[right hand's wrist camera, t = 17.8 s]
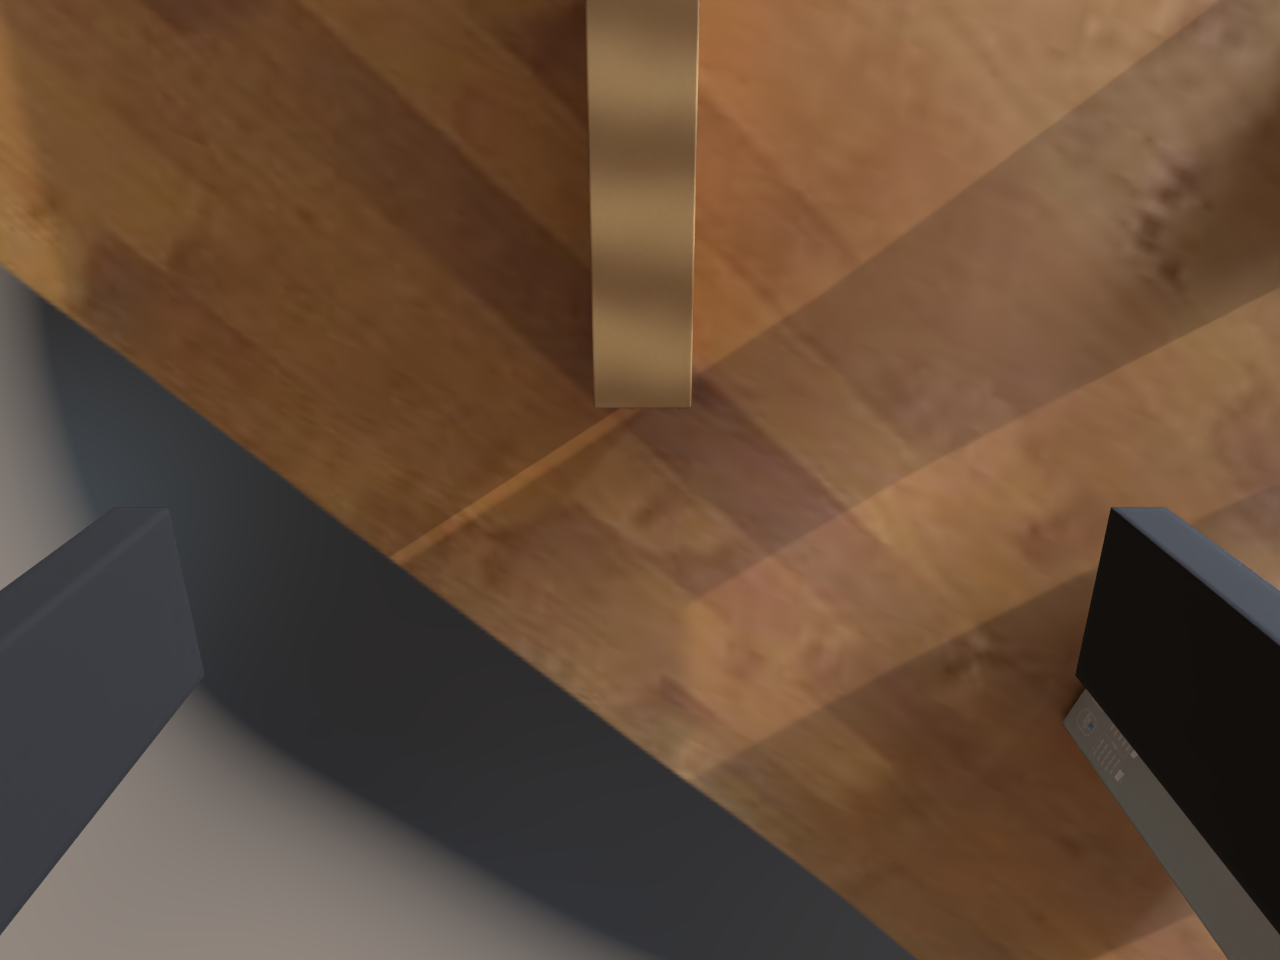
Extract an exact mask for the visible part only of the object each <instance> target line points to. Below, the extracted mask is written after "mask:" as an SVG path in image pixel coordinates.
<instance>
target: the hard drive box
mask: <svg viewBox="0 0 1280 960" xmlns="http://www.w3.org/2000/svg"><path fill="white" fill-rule="evenodd" d="M1063 726H1064V727H1065V728H1066V730H1067V731H1068V733H1069V734H1070V736H1071V737H1072V738H1073V740H1074V741H1075V743H1076V744H1077V746H1078V747H1079V748H1080V750H1081V751H1082V753H1083V754H1084V755H1085V757H1086V758H1087V760H1088V761H1089V763H1090V764H1091V766H1092V767H1093V768H1094V770H1095V771H1096V773H1097V774H1098V776H1099V777H1100V778H1101V780H1102V781H1103V783H1104V784H1105V786H1106V787H1107V788H1108V790H1109V791H1110V793H1111V794H1112V795H1113V797H1114V798H1115V800H1116V801H1117V803H1118V804H1119V805H1120V807H1121V808H1122V810H1123V811H1124V812H1125V814H1126V815H1127V817H1128V818H1129V819H1130V821H1131V822H1132V824H1133V825H1134V827H1135V828H1136V829H1137V831H1138V832H1139V834H1140V835H1141V836H1142V838H1143V839H1144V841H1145V842H1146V844H1147V845H1148V846H1149V848H1150V849H1151V851H1152V852H1153V853H1154V855H1155V856H1156V858H1157V859H1158V861H1159V862H1160V863H1161V865H1162V866H1163V868H1164V869H1165V870H1166V872H1167V873H1168V875H1169V876H1170V878H1171V879H1172V880H1173V882H1174V883H1175V885H1176V886H1177V887H1178V889H1179V890H1180V892H1181V893H1182V895H1183V896H1184V897H1185V899H1186V900H1187V902H1188V903H1189V904H1190V906H1191V907H1192V909H1193V910H1194V912H1195V913H1196V914H1197V916H1198V917H1199V919H1200V920H1201V922H1202V923H1203V924H1204V926H1205V927H1206V929H1207V930H1208V932H1209V933H1210V934H1211V936H1212V937H1213V939H1214V940H1215V942H1216V943H1217V944H1218V946H1219V947H1220V949H1221V950H1222V951H1223V953H1224V954H1225V956H1226V957H1227V959H1228V960H1280V935H1279V933H1278V932H1277V931H1276V930H1275V928H1274V927H1273V926H1272V925H1271V923H1270V922H1269V921H1268V919H1267V918H1266V917H1265V916H1264V914H1263V913H1262V912H1261V911H1260V909H1259V908H1258V907H1257V906H1256V904H1255V903H1254V902H1253V900H1252V899H1251V898H1250V897H1249V895H1248V894H1247V893H1246V892H1245V890H1244V889H1243V888H1242V886H1241V885H1240V884H1239V883H1238V881H1237V880H1236V879H1235V878H1234V876H1233V875H1232V874H1231V872H1230V871H1229V870H1228V869H1227V867H1226V866H1225V865H1224V864H1223V862H1222V861H1221V860H1220V858H1219V857H1218V856H1217V855H1216V853H1215V852H1214V851H1213V850H1212V848H1211V847H1210V846H1209V844H1208V843H1207V842H1206V841H1205V839H1204V838H1203V837H1202V836H1201V834H1200V833H1199V832H1198V830H1197V829H1196V828H1195V827H1194V825H1193V824H1192V823H1191V822H1190V820H1189V819H1188V818H1187V816H1186V815H1185V814H1184V813H1183V811H1182V810H1181V809H1180V808H1179V806H1178V805H1177V804H1176V802H1175V801H1174V800H1173V799H1172V797H1171V796H1170V795H1169V794H1168V792H1167V791H1166V790H1165V788H1164V787H1163V786H1162V785H1161V783H1160V782H1159V781H1158V780H1157V778H1156V777H1155V776H1154V775H1153V773H1152V772H1151V771H1150V769H1149V768H1148V767H1147V766H1146V764H1145V763H1144V762H1143V761H1142V759H1141V758H1140V757H1139V755H1138V754H1137V753H1136V752H1135V750H1134V749H1133V748H1132V747H1131V745H1130V744H1129V743H1128V741H1127V740H1126V739H1125V738H1124V736H1123V735H1122V734H1121V733H1120V731H1119V730H1118V729H1117V727H1116V726H1115V725H1114V724H1113V722H1112V721H1111V720H1110V719H1109V717H1108V716H1107V715H1106V713H1105V712H1104V711H1103V710H1102V708H1101V707H1100V706H1099V705H1098V703H1097V702H1096V701H1095V699H1094V698H1093V697H1092V696H1091V694H1090V693H1089V692H1088V691H1087V689H1085V690H1084V692H1083V693H1082V695H1081V696H1080V697H1079V699H1078V700H1077V702H1076V703H1075V704H1074V706H1073V707H1072V709H1071V710H1070V712H1069V713H1068V715H1067V716H1066V718H1065V719H1064V721H1063Z"/></svg>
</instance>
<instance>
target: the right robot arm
mask: <svg viewBox="0 0 1280 960" xmlns="http://www.w3.org/2000/svg"><path fill="white" fill-rule="evenodd" d="M203 677H204V670H203V665H202V661H201V656H200V651H199V646H198V642H197V637H196V632H195V628H194V623H193V618H192V613H191V609H190V604H189V599H188V595H187V590H186V586H185V581H184V576H183V571H182V566H181V562H180V557H179V552H178V548H177V543H176V538H175V533H174V529H173V524H172V520H171V515H170V510H169V507H114V508H113V509H111V510H110V511H108V512H107V513H106V514H104V515H103V516H102V517H100V518H99V519H98V520H96V521H95V522H93V523H92V524H91V525H89V526H88V527H87V528H85V529H84V530H83V531H81V532H80V533H78V534H77V535H76V536H74V537H73V538H72V539H70V540H69V541H67V542H66V543H65V544H64V545H62V546H61V547H59V548H58V549H57V550H55V551H54V552H53V553H51V554H50V555H48V556H47V557H46V558H44V559H43V560H42V561H40V562H39V563H38V564H36V565H35V566H33V567H32V568H31V569H29V570H28V571H27V572H25V573H24V574H23V575H21V576H20V577H18V578H17V579H16V580H14V581H13V582H12V583H10V584H9V585H8V586H6V587H5V588H3V589H2V590H1V591H0V935H1V933H2V932H3V931H4V930H5V928H6V927H7V926H8V925H9V923H10V922H11V921H12V919H13V918H14V917H15V916H16V914H17V913H18V912H19V911H20V909H21V908H22V907H23V905H24V904H25V903H26V902H27V900H28V899H29V898H30V897H31V895H32V894H33V893H34V891H35V890H36V889H37V888H38V886H39V885H40V884H41V883H42V881H43V880H44V879H45V878H46V876H47V875H48V874H49V872H50V871H51V870H52V869H53V867H54V866H55V865H56V863H57V862H58V861H59V860H60V858H61V857H62V856H63V855H64V853H65V852H66V851H67V850H68V848H69V847H70V846H71V844H72V843H73V842H74V841H75V839H76V838H77V837H78V836H79V834H80V833H81V832H82V830H83V829H84V828H85V827H86V825H87V824H88V823H89V822H90V820H91V819H92V818H93V816H94V815H95V814H96V813H97V811H98V810H99V809H100V808H101V806H102V805H103V804H104V802H105V801H106V800H107V799H108V797H109V796H110V795H111V794H112V792H113V791H114V790H115V788H116V787H117V786H118V785H119V783H120V782H121V781H122V780H123V778H124V777H125V776H126V774H127V773H128V772H129V771H130V769H131V768H132V767H133V766H134V764H135V763H136V762H137V760H138V759H139V758H140V757H141V755H142V754H143V753H144V752H145V750H146V749H147V748H148V746H149V745H150V744H151V743H152V741H153V740H154V739H155V738H156V736H157V735H158V734H159V733H160V731H161V730H162V729H163V727H164V726H165V725H166V724H167V722H168V721H169V720H170V718H171V717H172V716H173V715H174V713H175V712H176V711H177V710H178V708H179V707H180V706H181V705H182V703H183V702H184V701H185V699H186V698H187V697H188V696H189V694H190V693H191V692H192V691H193V689H194V688H195V687H196V685H197V684H198V683H199V682H200V680H201V679H202V678H203ZM1076 677H1077V678H1078V679H1079V680H1080V682H1081V683H1082V684H1083V685H1084V687H1085V688H1086V689H1087V691H1088V692H1089V693H1090V694H1091V696H1092V697H1093V698H1094V699H1095V701H1096V702H1097V703H1098V705H1099V706H1100V707H1101V708H1102V710H1103V711H1104V712H1105V713H1106V715H1107V716H1108V717H1109V719H1110V720H1111V721H1112V722H1113V724H1114V725H1115V726H1116V727H1117V729H1118V730H1119V731H1120V733H1121V734H1122V735H1123V736H1124V738H1125V739H1126V740H1127V741H1128V743H1129V744H1130V745H1131V747H1132V748H1133V749H1134V750H1135V752H1136V753H1137V754H1138V755H1139V757H1140V758H1141V759H1142V761H1143V762H1144V763H1145V764H1146V766H1147V767H1148V768H1149V769H1150V771H1151V772H1152V773H1153V775H1154V776H1155V777H1156V778H1157V780H1158V781H1159V782H1160V783H1161V785H1162V786H1163V787H1164V788H1165V790H1166V791H1167V792H1168V794H1169V795H1170V796H1171V797H1172V799H1173V800H1174V801H1175V802H1176V804H1177V805H1178V806H1179V808H1180V809H1181V810H1182V811H1183V813H1184V814H1185V815H1186V816H1187V818H1188V819H1189V820H1190V822H1191V823H1192V824H1193V825H1194V827H1195V828H1196V829H1197V830H1198V832H1199V833H1200V834H1201V836H1202V837H1203V838H1204V839H1205V841H1206V842H1207V843H1208V844H1209V846H1210V847H1211V848H1212V850H1213V851H1214V852H1215V853H1216V855H1217V856H1218V857H1219V858H1220V860H1221V861H1222V862H1223V864H1224V865H1225V866H1226V867H1227V869H1228V870H1229V871H1230V872H1231V874H1232V875H1233V876H1234V878H1235V879H1236V880H1237V881H1238V883H1239V884H1240V885H1241V886H1242V888H1243V889H1244V890H1245V892H1246V893H1247V894H1248V895H1249V897H1250V898H1251V899H1252V900H1253V902H1254V903H1255V904H1256V906H1257V907H1258V908H1259V909H1260V911H1261V912H1262V913H1263V914H1264V916H1265V917H1266V918H1267V919H1268V921H1269V922H1270V923H1271V925H1272V926H1273V927H1274V928H1275V930H1276V931H1277V932H1278V933H1279V935H1280V591H1279V590H1278V589H1277V588H1275V587H1274V586H1272V585H1271V584H1270V583H1268V582H1267V581H1266V580H1264V579H1263V578H1262V577H1260V576H1259V575H1257V574H1256V573H1255V572H1253V571H1252V570H1251V569H1249V568H1248V567H1247V566H1245V565H1244V564H1242V563H1241V562H1240V561H1238V560H1237V559H1236V558H1234V557H1233V556H1232V555H1230V554H1229V553H1227V552H1226V551H1225V550H1223V549H1222V548H1221V547H1219V546H1218V545H1217V544H1215V543H1214V542H1213V541H1211V540H1210V539H1208V538H1207V537H1206V536H1204V535H1203V534H1202V533H1200V532H1199V531H1198V530H1196V529H1195V528H1193V527H1192V526H1191V525H1189V524H1188V523H1187V522H1185V521H1184V520H1183V519H1181V518H1180V517H1178V516H1177V515H1176V514H1174V513H1173V512H1172V511H1170V510H1169V509H1168V508H1166V507H1111V510H1110V515H1109V519H1108V524H1107V529H1106V533H1105V538H1104V543H1103V548H1102V552H1101V557H1100V562H1099V566H1098V571H1097V576H1096V581H1095V585H1094V590H1093V595H1092V599H1091V604H1090V609H1089V613H1088V618H1087V623H1086V628H1085V632H1084V637H1083V642H1082V646H1081V651H1080V656H1079V661H1078V665H1077V670H1076Z"/></svg>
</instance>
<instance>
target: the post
mask: <svg viewBox="0 0 1280 960" xmlns="http://www.w3.org/2000/svg"><path fill="white" fill-rule="evenodd" d="M699 2H700V0H585V16H586V64H587V111H588V158H589V205H590V252H591V299H592V347H593V394H594V408H691V388H692V339H693V291H694V243H695V195H696V147H697V98H698V50H699Z"/></svg>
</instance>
